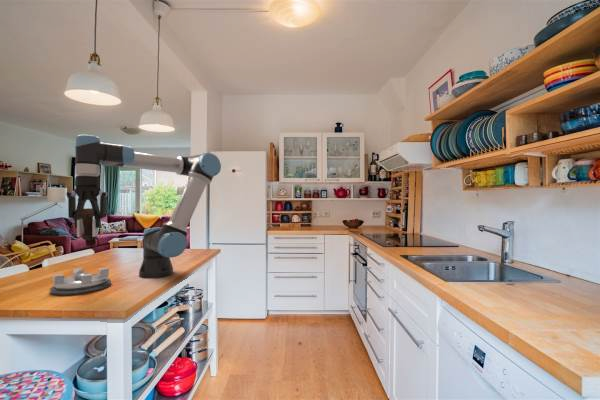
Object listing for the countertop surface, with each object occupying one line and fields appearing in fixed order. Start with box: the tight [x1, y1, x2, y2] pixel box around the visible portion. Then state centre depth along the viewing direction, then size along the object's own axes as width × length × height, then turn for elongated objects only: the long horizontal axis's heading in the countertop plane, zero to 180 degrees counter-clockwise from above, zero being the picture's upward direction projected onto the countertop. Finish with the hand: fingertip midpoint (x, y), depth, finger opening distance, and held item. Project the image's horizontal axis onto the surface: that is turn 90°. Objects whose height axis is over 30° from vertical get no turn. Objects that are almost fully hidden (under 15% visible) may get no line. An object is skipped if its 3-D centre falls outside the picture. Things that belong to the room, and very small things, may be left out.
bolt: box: [77, 207, 98, 248], centre depth 110 cm, size 6×5×15 cm
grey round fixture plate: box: [52, 267, 110, 291], centre depth 118 cm, size 18×18×5 cm
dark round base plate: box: [49, 278, 112, 297], centre depth 118 cm, size 20×20×2 cm
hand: (87, 236), depth 110 cm, fingers closed on bolt, 4 cm apart
